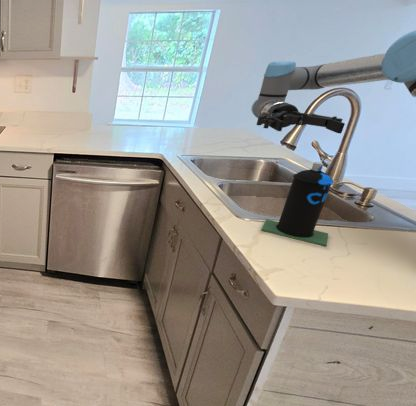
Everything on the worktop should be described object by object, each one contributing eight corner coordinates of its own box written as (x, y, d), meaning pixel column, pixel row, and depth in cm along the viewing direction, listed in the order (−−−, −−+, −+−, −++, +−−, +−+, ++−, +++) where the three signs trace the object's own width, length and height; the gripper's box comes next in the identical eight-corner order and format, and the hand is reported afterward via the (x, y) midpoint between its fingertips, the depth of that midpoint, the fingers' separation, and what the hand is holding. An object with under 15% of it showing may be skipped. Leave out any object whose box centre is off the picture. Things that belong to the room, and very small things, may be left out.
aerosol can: (269, 227, 105) (290, 160, 97) (287, 222, 108) (310, 157, 100) (301, 240, 98) (327, 169, 90) (320, 234, 101) (347, 165, 93)
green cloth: (327, 235, 101) (328, 233, 101) (325, 246, 96) (326, 244, 96) (265, 220, 110) (266, 218, 110) (261, 230, 105) (261, 228, 105)
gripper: (322, 127, 117) (362, 143, 98) (232, 124, 124) (253, 138, 106) (331, 103, 114) (373, 114, 95) (238, 101, 121) (261, 112, 103)
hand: (310, 127), depth 100 cm, fingers open, 13 cm apart
